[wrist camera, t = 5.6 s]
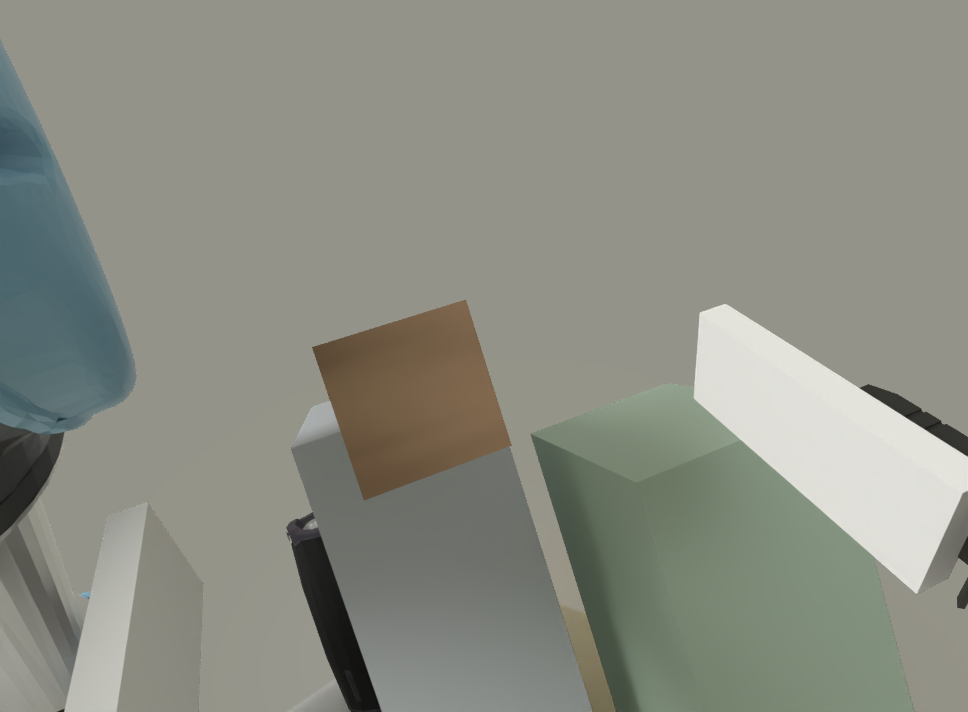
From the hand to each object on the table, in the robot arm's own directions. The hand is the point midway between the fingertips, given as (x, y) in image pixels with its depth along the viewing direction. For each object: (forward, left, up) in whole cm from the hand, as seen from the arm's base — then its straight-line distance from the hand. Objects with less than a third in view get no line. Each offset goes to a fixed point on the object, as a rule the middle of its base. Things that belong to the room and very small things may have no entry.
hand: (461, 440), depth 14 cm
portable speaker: (-42, +15, -31) cm, 55 cm away
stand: (-22, +12, -31) cm, 40 cm away
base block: (-7, +18, -31) cm, 37 cm away
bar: (-16, +9, -1) cm, 18 cm away
